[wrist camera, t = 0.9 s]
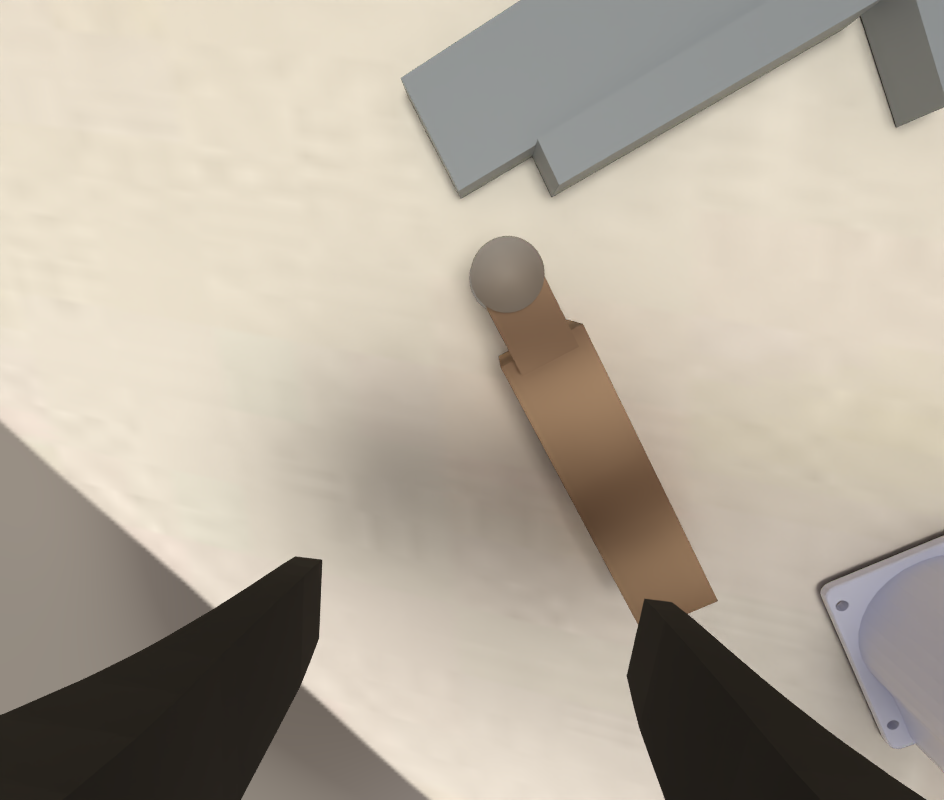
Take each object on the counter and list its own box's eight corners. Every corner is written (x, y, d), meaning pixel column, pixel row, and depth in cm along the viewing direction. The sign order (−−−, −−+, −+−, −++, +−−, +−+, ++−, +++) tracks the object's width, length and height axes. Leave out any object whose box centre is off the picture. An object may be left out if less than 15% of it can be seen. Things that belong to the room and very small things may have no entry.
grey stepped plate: (931, 108, 16) (1009, 74, 13) (499, 341, 18) (501, 347, 16) (841, -185, 14) (913, -284, 12) (378, 112, 16) (360, 80, 14)
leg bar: (455, 274, 17) (445, 266, 13) (524, 234, 17) (535, 214, 13) (619, 583, 20) (651, 652, 16) (683, 555, 19) (732, 620, 16)
